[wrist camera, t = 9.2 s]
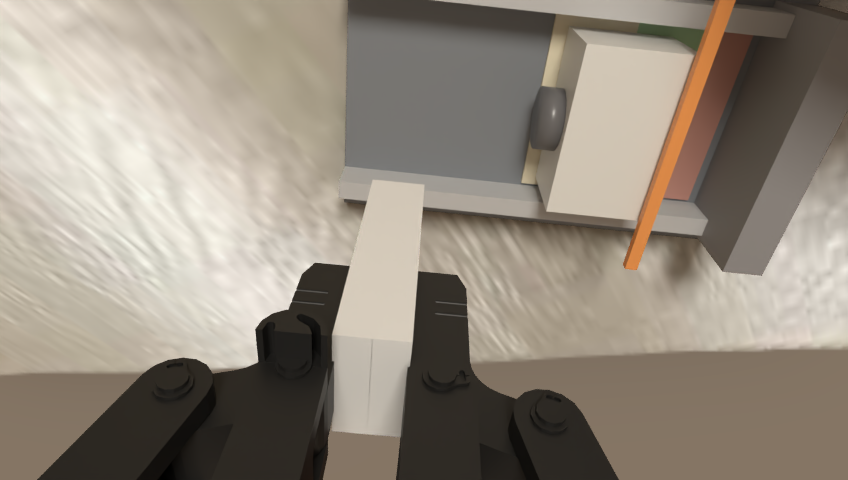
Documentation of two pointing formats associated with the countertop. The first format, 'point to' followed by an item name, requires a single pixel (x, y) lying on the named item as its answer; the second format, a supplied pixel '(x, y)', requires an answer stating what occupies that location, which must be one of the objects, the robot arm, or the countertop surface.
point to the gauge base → (539, 66)
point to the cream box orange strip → (619, 121)
